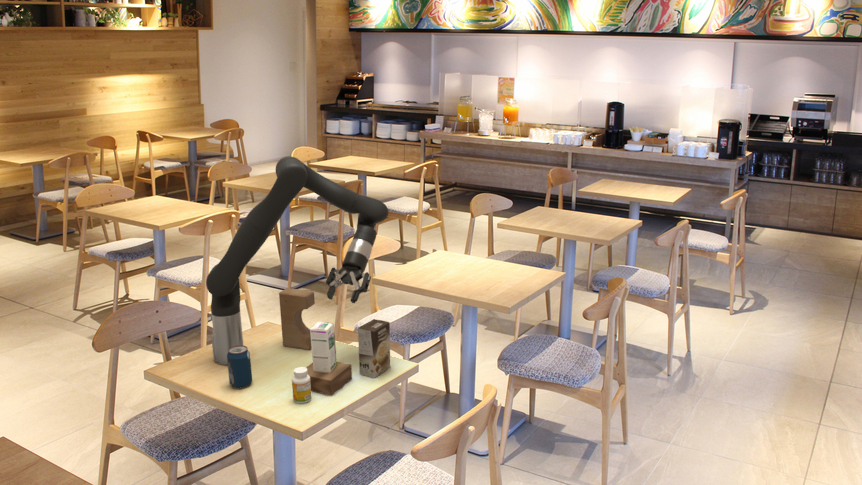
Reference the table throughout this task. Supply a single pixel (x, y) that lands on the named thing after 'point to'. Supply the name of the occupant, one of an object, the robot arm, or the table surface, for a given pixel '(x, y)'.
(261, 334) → the table surface
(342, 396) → the table surface
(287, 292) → the decorative block
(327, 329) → the syrup box
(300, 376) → the supplement bottle
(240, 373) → the soda can
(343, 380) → the walnut block
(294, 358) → the table surface
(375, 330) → the coffee box
